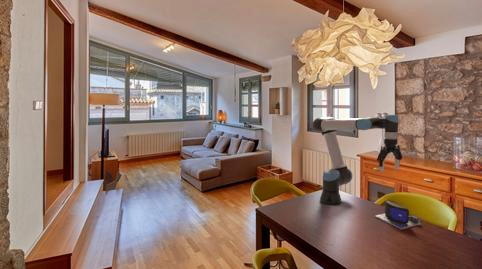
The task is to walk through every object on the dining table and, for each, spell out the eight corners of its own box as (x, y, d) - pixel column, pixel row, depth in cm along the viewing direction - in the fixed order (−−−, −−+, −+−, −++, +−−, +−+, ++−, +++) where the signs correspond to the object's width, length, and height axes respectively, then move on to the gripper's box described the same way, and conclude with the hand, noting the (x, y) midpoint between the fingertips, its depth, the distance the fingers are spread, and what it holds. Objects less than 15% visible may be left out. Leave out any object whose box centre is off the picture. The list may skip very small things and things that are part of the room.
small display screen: (380, 214, 169) (381, 200, 168) (386, 213, 171) (386, 199, 170) (403, 225, 154) (404, 210, 153) (409, 224, 156) (410, 209, 154)
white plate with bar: (375, 217, 168) (375, 211, 168) (393, 212, 174) (394, 207, 173) (401, 229, 151) (401, 223, 151) (420, 224, 157) (421, 218, 157)
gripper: (381, 140, 162) (380, 173, 164) (409, 137, 171) (407, 169, 173) (371, 138, 169) (370, 170, 171) (399, 136, 178) (397, 167, 180)
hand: (389, 170), depth 172 cm, fingers open, 13 cm apart
